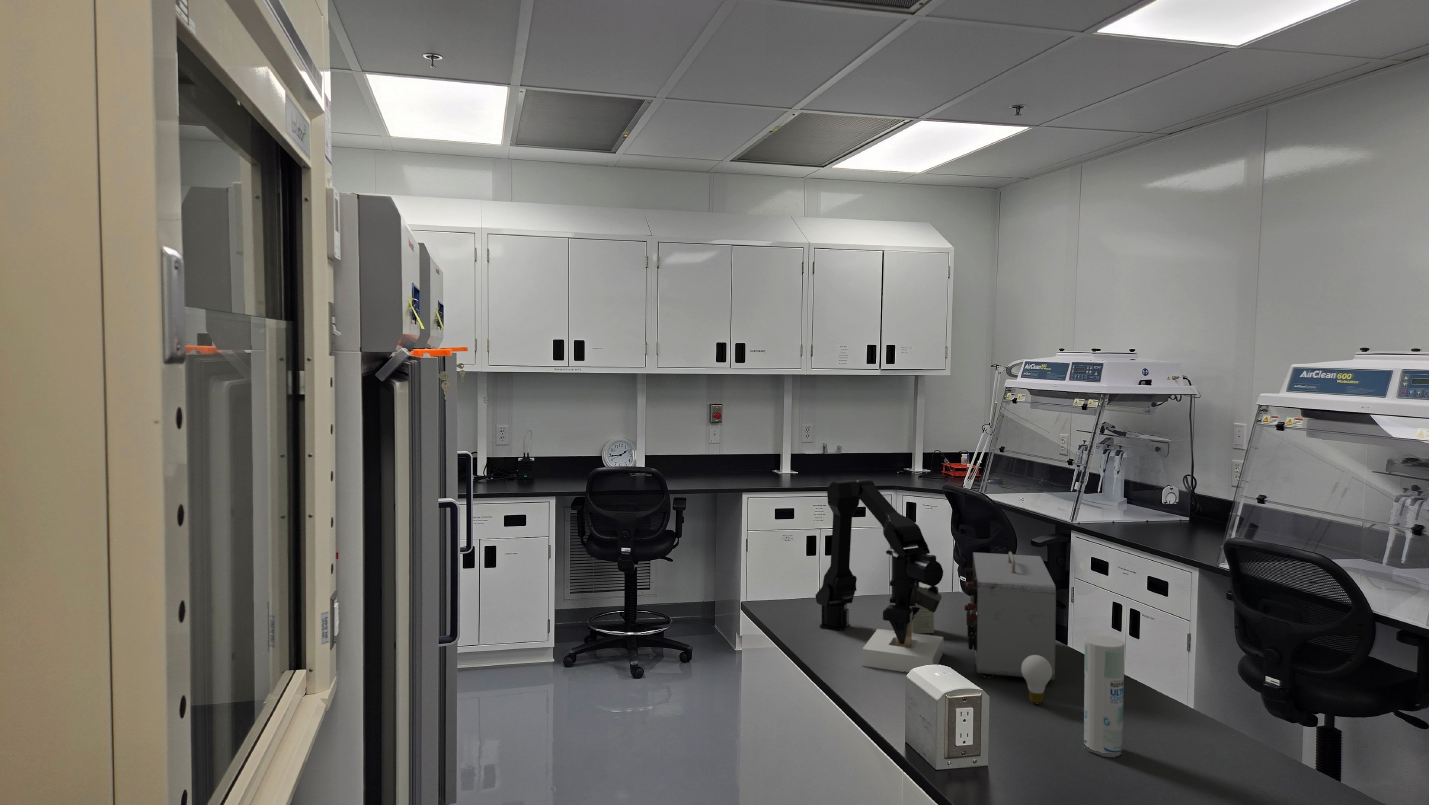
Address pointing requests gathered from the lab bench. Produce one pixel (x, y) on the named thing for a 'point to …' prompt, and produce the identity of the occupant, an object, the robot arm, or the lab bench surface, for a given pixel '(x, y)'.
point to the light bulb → (1036, 676)
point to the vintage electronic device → (1010, 612)
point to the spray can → (1103, 693)
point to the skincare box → (923, 619)
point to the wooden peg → (908, 637)
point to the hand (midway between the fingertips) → (903, 641)
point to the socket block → (901, 651)
